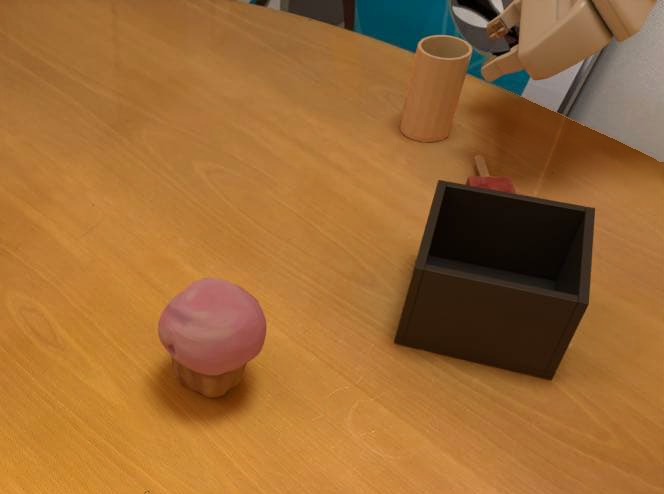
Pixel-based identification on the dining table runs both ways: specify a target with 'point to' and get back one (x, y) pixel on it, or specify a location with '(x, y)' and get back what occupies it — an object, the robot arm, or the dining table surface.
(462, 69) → the cardboard tube
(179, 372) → the cupcake
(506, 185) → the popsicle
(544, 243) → the bin
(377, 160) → the dining table surface
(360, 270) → the dining table surface
